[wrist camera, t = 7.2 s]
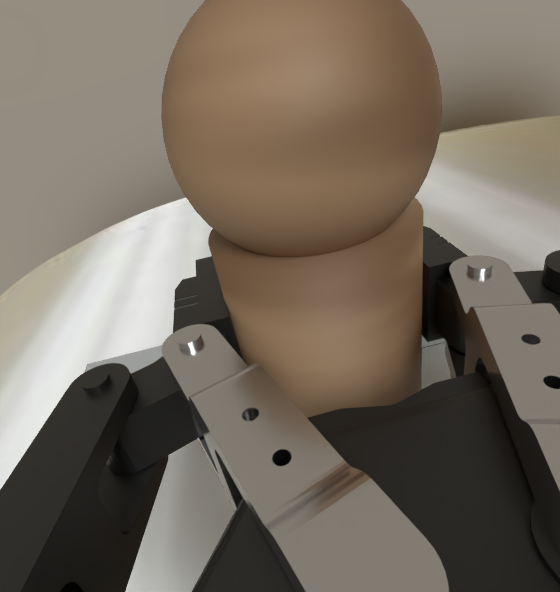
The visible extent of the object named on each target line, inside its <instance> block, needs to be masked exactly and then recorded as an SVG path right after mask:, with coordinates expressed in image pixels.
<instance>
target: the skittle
mask: <svg viewBox="0 0 560 592" xmlns="http://www.w3.org/2000/svg"><path fill="white" fill-rule="evenodd" d="M441 118H442V95H441V86H440V80H439V74H438V69H437V65H436V62H435V59H434V56H433V52H432V49H431V46H430V44H429V42H428V40H427V38H426V36H425V34H424V31H423V29H422V27H421V26H420V24H419V23H418V21H417V20H416V18H415V17H414V15H413V14H412V12H411V11H410V9H409V8H408V7H407V6H406V5H405V4H404V3H403V2H402V1H401V0H205V1H204V2H203V4H202V5H201V6H200V7H199V9H198V10H197V11H196V12H195V13H194V15H193V16H192V17H191V18H190V20H189V22H188V23H187V25H186V27H185V28H184V30H183V32H182V33H181V35H180V37H179V39H178V41H177V43H176V46H175V48H174V50H173V53H172V55H171V58H170V61H169V65H168V68H167V72H166V75H165V81H164V87H163V94H162V127H163V136H164V143H165V147H166V151H167V156H168V159H169V162H170V165H171V168H172V170H173V173H174V175H175V178H176V180H177V182H178V184H179V186H180V187H181V190H182V191H183V193H184V195H185V196H186V198H187V199H188V200H189V202H190V203H191V205H192V206H193V208H194V209H195V210H196V212H197V213H198V214H199V215H200V216H201V217H202V218H203V219H204V220H205V221H206V222H207V224H208V225H210V226H211V227H212V228H213V229H212V231H211V233H210V236H209V242H208V243H209V247H210V251H211V254H212V258H213V261H214V265H215V268H216V272H217V275H218V279H219V282H220V286H221V290H222V293H223V297H224V300H225V303H226V304H227V307H228V311H229V314H230V318H231V321H232V325H233V328H234V332H235V335H236V339H237V342H238V346H239V350H240V353H241V357H242V360H243V361H244V362H245V363H246V364H247V366H249V365H251V364H253V363H258V364H259V365H260V366H261V367H262V368H263V369H264V370H265V371H266V372H267V374H268V375H269V376H270V377H271V378H272V379H273V380H274V381H275V383H276V384H277V385H278V386H279V387H280V388H281V389H282V390H283V392H284V393H285V394H286V395H287V396H288V397H289V398H290V399H291V401H292V402H293V403H294V404H295V405H296V406H297V407H298V408H299V410H300V411H301V412H302V413H303V414H304V415H305V416H306V417H307V418H308V417H312V416H315V415H319V414H323V413H326V412H330V411H334V410H337V409H342V408H357V407H373V406H388V405H393V404H396V403H398V402H400V401H402V400H404V399H406V398H408V397H409V396H411V395H413V394H415V393H417V392H419V391H421V363H422V279H423V209H422V206H421V204H420V203H419V202H418V200H417V199H415V198H414V197H415V195H416V194H417V193H418V191H419V189H420V187H421V185H422V183H423V182H424V180H425V178H426V176H427V174H428V171H429V168H430V166H431V163H432V160H433V158H434V155H435V152H436V148H437V144H438V139H439V135H440V127H441Z"/></svg>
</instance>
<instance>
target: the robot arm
mask: <svg viewBox="0 0 560 592" xmlns="http://www.w3.org/2000/svg"><path fill="white" fill-rule="evenodd" d="M174 308H175V310H174V326H173V334H171V335H170V336H169V337H168V338H167V339H166V340H165V342H164V343H163V345H162V354H163V356H162V357H161V358H159V359H158V360H157V361H155V362H154V363H152V364H150V365H148V366H146V367H144V368H142V369H140V370H138V371H135V372H133V373H130V371H129V369H128V368H127V367H126V366H125V365H123V364H120V363H108V364H103V365H100V366H97V367H94V368H92V369H90V370H88V371H86V372H85V373H83V374H82V375H80V376H79V377H78V378H77V379H75V380H74V381H73V382H72V384H71V385H70V386H69V388H68V389H67V391H66V392H65V394H64V395H63V397H62V398H61V400H60V401H59V403H58V404H57V406H56V407H55V409H54V410H53V412H52V413H51V415H50V416H49V418H48V419H47V421H46V422H45V424H44V425H43V427H42V428H41V430H40V431H39V433H38V434H37V436H36V437H35V439H34V440H33V442H32V443H31V445H30V446H29V448H28V449H27V451H26V452H25V454H24V455H23V457H22V458H21V460H20V461H19V463H18V464H17V466H16V467H15V469H14V470H13V472H12V473H11V475H10V476H9V478H8V479H7V481H6V482H5V484H4V485H3V487H2V488H1V490H0V592H125V590H126V587H127V584H128V581H129V578H130V575H131V572H132V569H133V566H134V563H135V560H136V557H137V554H138V551H139V547H140V544H141V541H142V538H143V535H144V532H145V529H146V526H147V523H148V520H149V517H150V514H151V511H152V508H153V505H154V502H155V499H156V496H157V493H158V490H159V486H160V483H161V480H162V477H163V474H164V471H165V468H166V465H167V462H168V455H169V454H171V453H173V452H174V451H176V450H178V449H180V448H181V447H183V446H185V445H187V444H188V443H190V442H192V441H194V440H196V439H198V441H199V442H200V444H201V446H202V448H203V450H204V452H205V454H206V456H207V458H208V459H209V461H210V463H211V465H212V467H213V469H214V471H215V473H216V475H217V476H218V478H219V480H220V482H221V484H222V486H223V488H224V490H225V492H226V494H227V496H228V499H229V501H230V503H231V505H232V507H233V510H234V512H235V513H234V515H233V516H232V518H231V520H230V522H229V524H228V526H227V528H226V529H225V531H224V533H223V535H222V537H221V539H220V541H219V542H218V544H217V546H216V548H215V550H214V552H213V554H212V555H211V557H210V559H209V561H208V563H207V565H206V567H205V568H204V570H203V572H202V574H201V576H200V578H199V579H198V581H197V583H196V585H195V587H194V589H193V591H192V592H560V250H559V251H555V252H552V253H551V254H549V255H548V256H547V257H546V259H545V265H544V270H543V271H527V272H513V271H512V270H511V268H510V266H509V265H508V264H507V263H505V262H504V261H502V260H499V259H497V258H493V257H488V256H467V255H466V254H464V253H463V252H462V251H460V250H459V249H458V248H456V247H455V246H454V245H452V244H451V243H450V242H449V243H448V242H447V240H445V239H444V238H443V237H440V235H439V234H437V233H436V232H435V231H433V230H432V229H431V228H428V227H425V226H423V279H422V336H423V337H424V338H425V339H426V341H427V342H430V341H434V340H438V339H442V338H444V339H445V340H446V347H445V355H446V359H447V362H448V366H449V370H450V373H451V377H452V379H448V380H444V381H441V382H437V383H434V384H432V385H430V386H428V387H426V388H424V389H422V390H421V391H419V392H417V393H415V394H413V395H411V396H409V397H408V398H406V399H404V400H402V401H400V402H398V403H396V404H393V405H388V406H373V407H357V408H342V409H337V410H334V411H330V412H326V413H323V414H319V415H315V416H312V417H308V418H307V417H306V416H305V415H304V414H303V413H302V412H301V411H300V410H299V408H298V407H297V406H296V405H295V404H294V403H293V402H292V401H291V399H290V398H289V397H288V396H287V395H286V394H285V393H284V392H283V390H282V389H281V388H280V387H279V386H278V385H277V384H276V383H275V381H274V380H273V379H272V378H271V377H270V376H269V375H268V374H267V372H266V371H265V370H264V369H263V368H262V367H261V366H260V365H259V364H258V363H253V364H251V365H249V366H247V364H246V363H245V362H244V361H243V360H242V357H241V353H240V350H239V346H238V342H237V339H236V335H235V332H234V328H233V325H232V321H231V318H230V314H229V311H228V307H227V304H226V303H225V300H224V297H223V293H222V290H221V286H220V282H219V279H218V275H217V272H216V268H215V265H214V261H213V258H212V256H211V257H207V258H203V259H199V260H196V277H192V278H188V279H183V280H182V281H181V282H180V284H179V285H178V287H177V288H176V289H175V303H174Z"/></svg>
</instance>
